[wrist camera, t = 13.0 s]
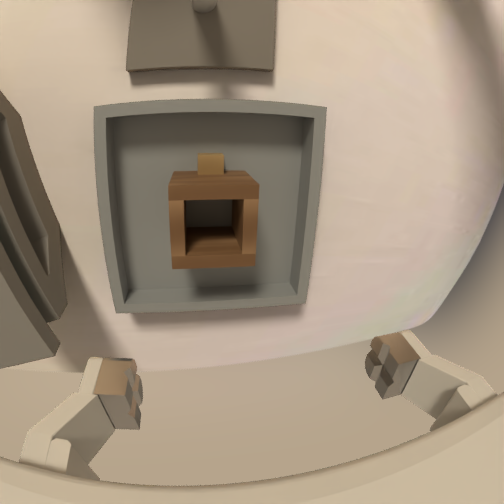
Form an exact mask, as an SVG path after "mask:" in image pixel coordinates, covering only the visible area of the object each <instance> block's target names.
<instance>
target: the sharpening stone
mask: <svg viewBox="0 0 504 504" xmlns="http://www.w3.org/2000/svg"><path fill="white" fill-rule="evenodd" d="M66 306H67V299H66V292H65V284H64V276H63V267H62V256H61V243H60V225H59V222H58V220H57V218H56V215H55V213H54V211H53V208H52V206H51V204H50V201H49V199H48V196H47V194H46V191H45V189H44V186H43V183H42V181H41V178H40V175H39V173H38V170H37V167H36V164H35V161H34V158H33V155H32V152H31V149H30V146H29V143H28V140H27V136H26V133H25V129H24V126H23V122H22V119H21V116H20V115H19V113H18V112H17V111H16V110H15V109H14V107H13V106H12V105H11V104H10V102H9V101H8V100H7V98H6V97H5V96H4V95H3V93H2V92H1V91H0V369H1V368H6V367H10V366H15V365H19V364H23V363H28V362H32V361H36V360H40V359H45V358H49V357H53V356H55V354H56V352H57V350H58V347H59V345H60V342H59V340H58V339H57V338H56V336H55V335H54V333H53V332H52V330H51V329H50V327H49V326H48V324H47V323H48V322H51V321H54V320H57V319H60V317H61V315H62V313H63V311H64V309H65V307H66Z"/></svg>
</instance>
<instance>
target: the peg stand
mask: <svg viewBox="0 0 504 504" xmlns="http://www.w3.org/2000/svg"><path fill="white" fill-rule="evenodd" d="M275 15H276V0H133V3H132V10H131V18H130V26H129V36H128V47H127V60H126V71H128V72H138V71H150V70H166V69H238V70H255V71H267V72H270V71H272V70H273V64H274V40H275Z"/></svg>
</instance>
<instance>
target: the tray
mask: <svg viewBox="0 0 504 504" xmlns="http://www.w3.org/2000/svg"><path fill="white" fill-rule="evenodd" d="M326 111H327V107H321V106H313V105H304V104H295V103H285V102H273V101H258V100H237V99H176V100H155V101H141V102H129V103H119V104H110V105H102V106H94V153H95V172H96V186H97V197H98V207H99V216H100V225H101V232H102V240H103V247H104V253H105V259H106V265H107V271H108V277H109V282H110V287H111V292H112V297H113V302H114V306H115V311H116V313H156V312H185V311H207V310H225V309H242V308H256V307H269V306H282V305H294V304H305V303H306V298H307V292H308V285H309V278H310V271H311V264H312V256H313V248H314V241H315V232H316V224H317V215H318V206H319V197H320V187H321V176H322V165H323V154H324V141H325V127H326ZM198 153H222V154H223V155H224V170H239V171H246V172H247V173H248V174H249V175H250V176H251V177H252V178H253V179H254V180H255V181H256V182H257V183H258V184H259V185H260V186H259V204H258V223H257V241H256V259H255V266H247V267H223V268H196V269H172V259H171V243H170V225H169V201H168V185H169V182H170V179H171V177H172V174H173V172H174V171H197V168H198ZM220 226H232V199H219V200H186V227H220Z"/></svg>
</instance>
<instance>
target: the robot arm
mask: <svg viewBox="0 0 504 504" xmlns="http://www.w3.org/2000/svg"><path fill="white" fill-rule="evenodd" d="M370 346H371V348H372V350H371V351H370V352H369V353H368V354H367V357H366V360H365V369H366V372H367V374H368V376H369V378H370V379H372V380H374V381H376V384H375V388H376V390H377V391H378V393H379V395H380V396H381V398H382V399H386V398H389V397H393V396H396V395H400V394H401V396H403V397H404V398H406V399H407V400H409V401H410V402H412V403H413V404H415V405H416V406H417V407H419V408H420V409H422V410H423V411H425V412H426V413H428V414H429V415H431V416H432V417H434V418H435V419H436V421H435V422H434V424H433V425H432V426H431V428H430V431H431V432H429V433H427V434H424V435H422V436H420V437H418V438H415V439H413V440H410V441H408V442H405V443H403V444H400V445H398V446H395V447H392V448H389V449H387V450H384V451H381V452H378V453H375V454H372V455H369V456H366V457H363V458H360V459H356V460H353V461H350V462H346V463H343V464H339V465H336V466H331V467H327V468H323V469H319V470H315V471H310V472H306V473H301V474H296V475H291V476H285V477H279V478H273V479H266V480H259V481H251V482H243V483H232V484H219V485H200V486H157V485H139V484H126V483H116V482H108V481H100V478H99V477H98V476H97V475H96V474H95V473H94V471H93V470H92V469H91V468H90V467H89V466H88V464H89V463H90V461H91V460H92V459H93V458H94V456H95V455H96V454H97V453H98V451H99V450H100V449H101V448H102V446H103V445H104V444H105V443H106V441H107V440H108V439H109V438H110V436H111V435H112V434H113V432H114V431H115V429H137V430H139V429H140V419H141V412H140V409H139V406H140V404H141V403H142V399H143V392H142V391H143V390H142V383H141V379H140V376H139V375H137V374H136V371H137V365H136V362H135V360H134V359H127V358H106V357H105V358H100V357H90V358H89V359H88V362H87V365H86V368H85V371H84V374H83V377H82V380H81V383H80V387H79V390H78V393H73V394H72V395H70V396H69V397H68V398H67V399H66V400H64V401H63V402H62V403H61V404H60V405H58V406H57V407H56V408H55V409H54V410H52V411H51V412H50V413H49V414H48V415H47V416H45V417H44V418H43V419H42V420H41V421H39V422H38V423H37V424H36V425H35V426H33V427H32V428H31V429H30V430H29V431H28V433H27V436H26V439H25V442H24V446H23V449H22V453H21V456H20V460H19V463H18V462H15V461H12V460H9V459H6V458H3V457H0V504H504V392H503V393H501V394H499V395H497V394H496V392H495V391H494V390H493V389H492V388H491V386H490V385H489V384H488V383H487V382H486V381H485V379H484V378H483V377H482V376H481V375H479V374H477V373H474V372H472V371H470V370H468V369H465V368H463V367H461V366H459V365H457V364H454V363H452V362H450V361H447V360H445V359H443V358H441V357H439V356H437V355H431V354H430V353H429V351H428V350H427V349H426V348H425V347H424V345H423V344H422V343H421V342H420V341H419V340H418V339H417V337H416V336H415V335H414V334H413V333H412V332H411V331H410V330H404V331H400V332H397V333H391V334H386V335H382V336H377V337H374V338H373V340H372V342H371V345H370Z"/></svg>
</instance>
